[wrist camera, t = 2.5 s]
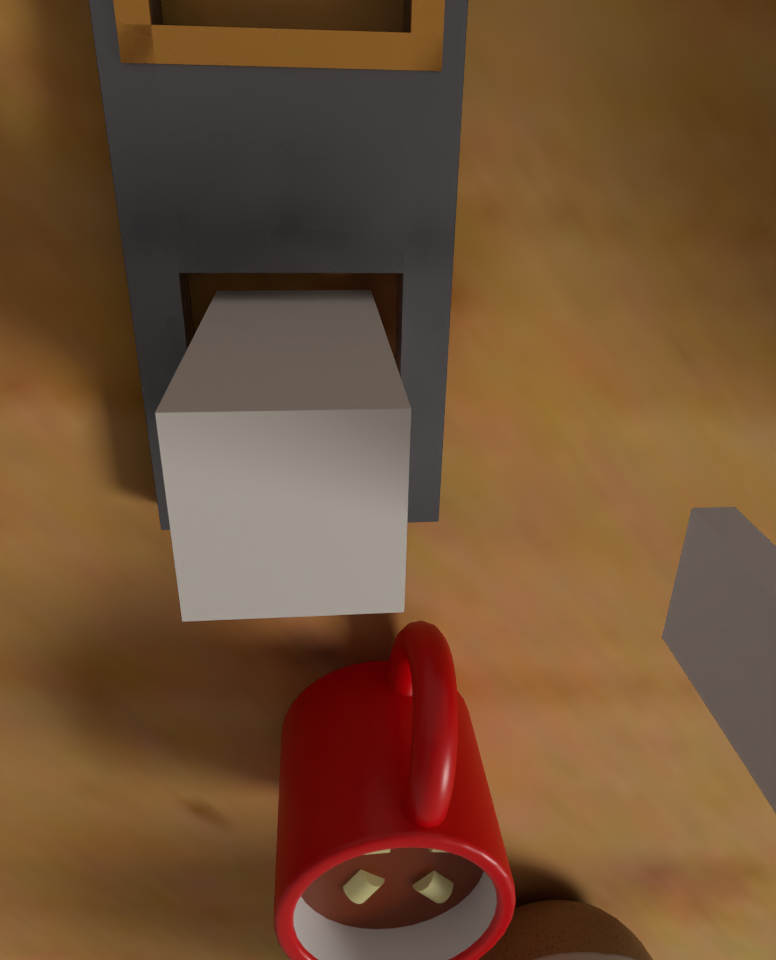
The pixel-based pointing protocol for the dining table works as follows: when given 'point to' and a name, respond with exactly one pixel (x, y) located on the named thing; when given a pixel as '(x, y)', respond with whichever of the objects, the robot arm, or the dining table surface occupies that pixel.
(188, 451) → the peg
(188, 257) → the grey slotted plate
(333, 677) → the mug
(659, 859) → the dining table surface
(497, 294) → the dining table surface
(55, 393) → the dining table surface
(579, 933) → the vase
